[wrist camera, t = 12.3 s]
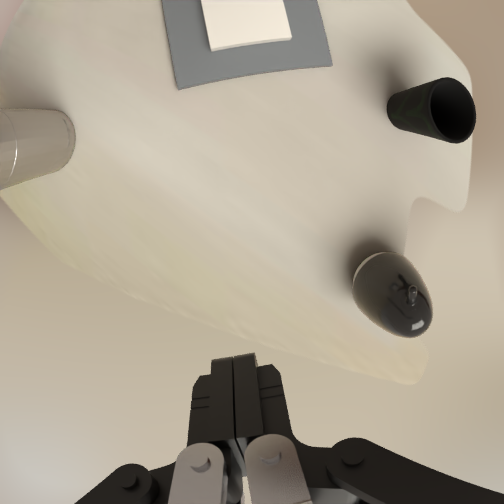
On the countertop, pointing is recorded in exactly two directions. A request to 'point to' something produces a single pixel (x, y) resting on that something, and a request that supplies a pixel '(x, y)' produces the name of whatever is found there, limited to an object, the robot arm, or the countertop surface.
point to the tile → (245, 22)
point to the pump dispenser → (393, 294)
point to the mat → (244, 57)
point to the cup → (435, 110)
